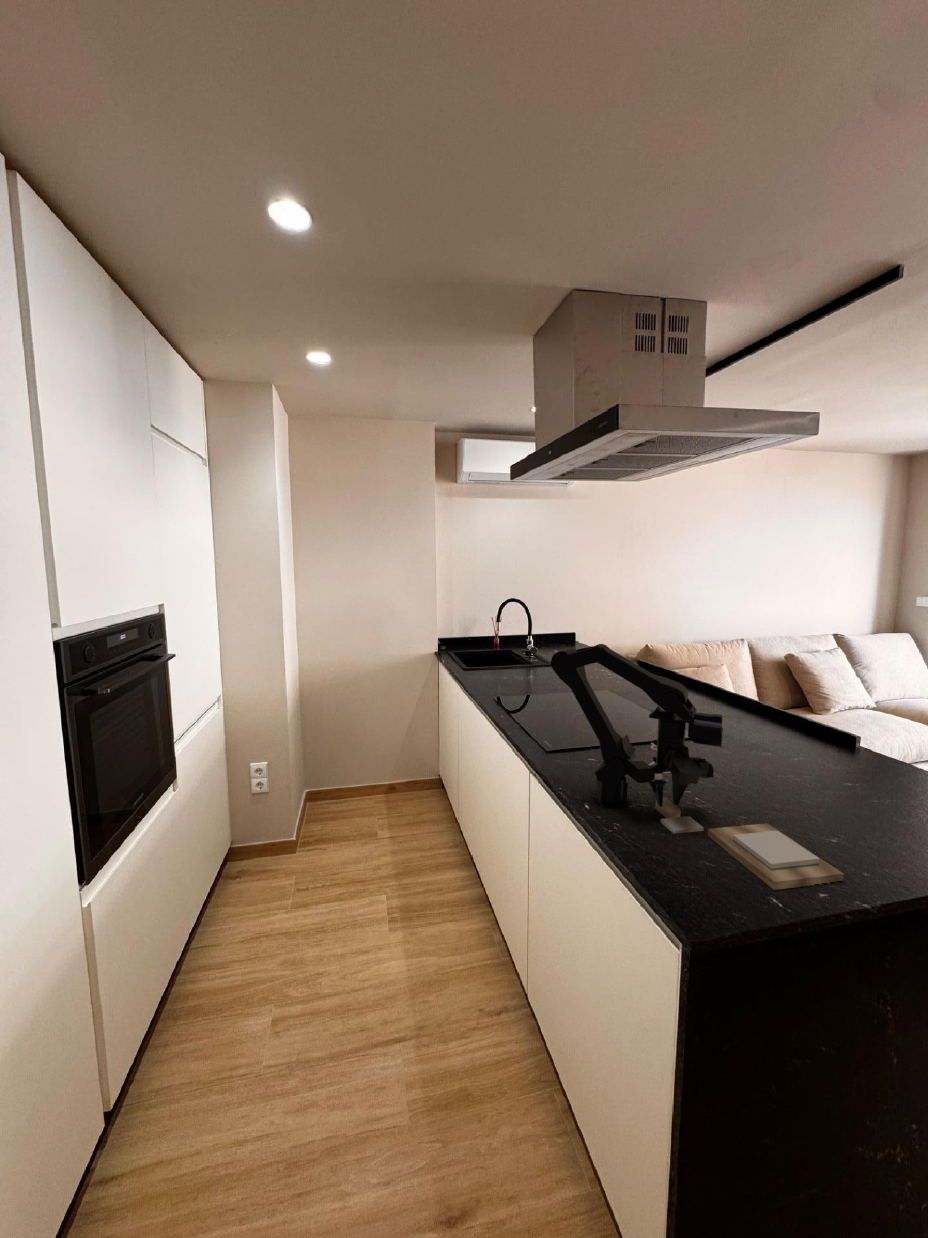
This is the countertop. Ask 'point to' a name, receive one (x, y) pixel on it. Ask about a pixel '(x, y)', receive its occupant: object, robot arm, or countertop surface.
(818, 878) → the oak board
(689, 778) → the robot arm
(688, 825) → the turner
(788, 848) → the tile
